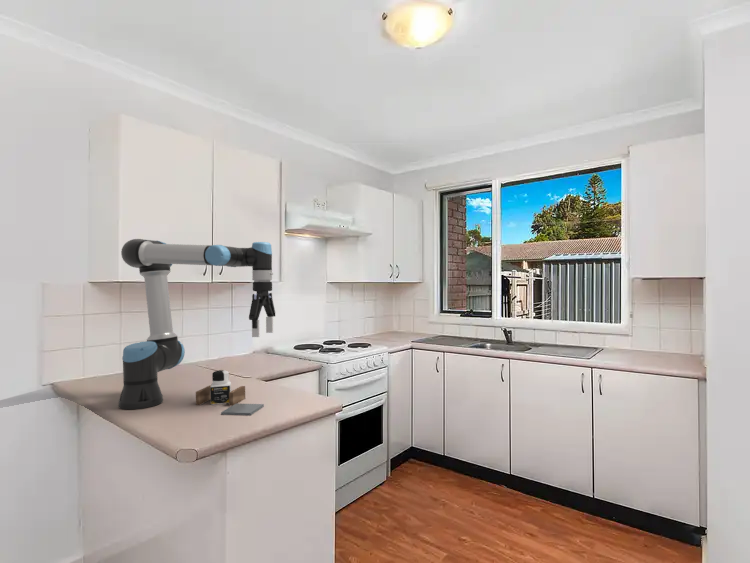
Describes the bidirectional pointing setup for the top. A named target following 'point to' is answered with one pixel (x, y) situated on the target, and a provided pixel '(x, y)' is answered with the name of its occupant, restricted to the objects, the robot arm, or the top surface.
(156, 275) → the robot arm
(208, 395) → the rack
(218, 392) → the medicine bottle
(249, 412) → the trivet
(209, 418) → the top surface
